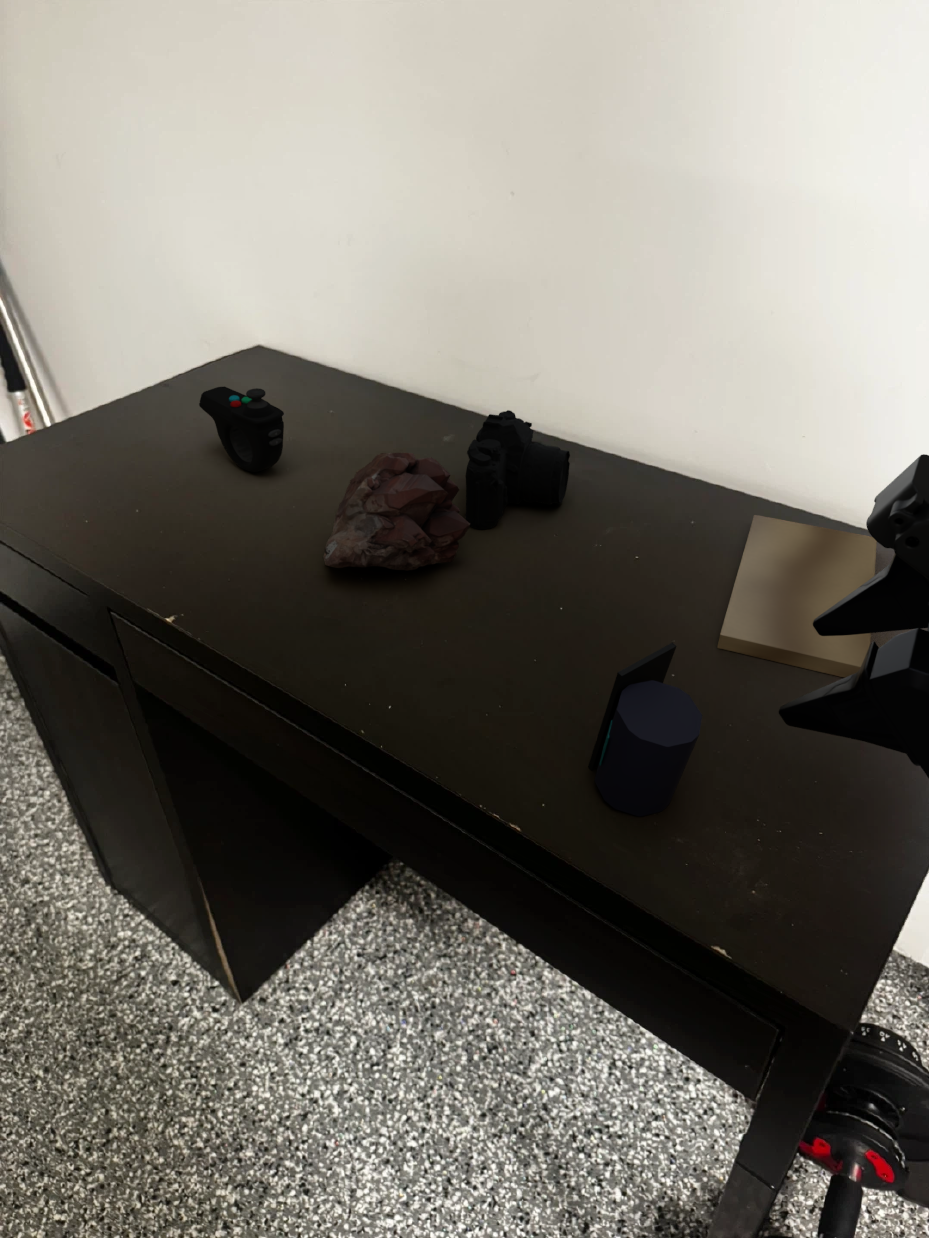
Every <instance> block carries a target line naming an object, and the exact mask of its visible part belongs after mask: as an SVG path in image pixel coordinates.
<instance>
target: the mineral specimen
mask: <svg viewBox="0 0 929 1238" xmlns="http://www.w3.org/2000/svg"><path fill="white" fill-rule="evenodd" d="M450 477H451V473H450V472H449V471H448V470H447V469H446V468H445V467H444V466H443V465H441V463H440V462H439V461H438V460H437V459H435V458H434V457H432V456H431V457H430V456H429V457H422V458H416V455H415V453H414V452H381V453H379V454H376V455H375V456H374V458H372V460H371V461H370V462H368V464H366V465H364V466H363V467H361V468H360V469H357V470H356V471H355V474H354V476H353V478H350V480H349V483H348V485H347V488H346V490H345V493H344V496H343V498H342V500H341V501H340V502H339V505H338V508H337V510H336V513H335V516H334V521H333V526H332V532H331V535H330V536H329V538H328V540H327V541H326V544H325V547H324V553H323V557H322V559H323V560H324V566H327V567H331V568H336V569H342V568H347V567H351V568H369V567H379V568H386V569H389V570H395V571H406V572H408V571H414V570H417V569H418V568H419V567H426V566H428V565H435V564H442V563H443V564H444V563H452V562H453V561H454V559H455V558H456V556H457V552H458V550H459V546H460V543H459V540H461V539H462V538H463V537H465V535H466V533H467V531H468V530H469V528H470V527H471V526H470V523H469V522H468V521H466V518H465V517H463V516H462V515H461V514H460V512H461V509H460V508H459V507H458V506H457V505H456V504H454V503H453V500H454V499H455V498H456V496H457V494H458V493H459V492H460V488H459V486H458V485H457V484H456V483H455V482H454V481H453V480H452V479H451V478H450Z"/></svg>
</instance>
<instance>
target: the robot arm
mask: <svg viewBox="0 0 929 1238" xmlns="http://www.w3.org/2000/svg"><path fill="white" fill-rule="evenodd" d="M873 502H874V505H873V508H872V510H871V513H870V514H869V516H868V517H867V519H866V524H865V525H866V529H867V531H868V533H869V535H870V536H871V537H873V538H874V539H875V540H876V541H877V544H879V545H880V546H882V547H883V548H884V549H892V550H893V552H894V554H893V555H892V559H891V561H890V562H889V563H888V565H887V566H885V567H884V568H883V569H881V570H880V571H879V572H878V573H875V576H874V577H872V578H871V579H870V580H868V581H867V582H866V583H864V584H863V585H861V586H860V587H859V588H857V589H856V590H855V591H853V592H852V593H850V594H849V595H848V596H846V597H845V598H843V599H842V600H841V601H839V602H838V603H836V604H835V605H834V606H832V607H831V608H829V609H828V610H827V611H825V612H824V613H822V614H821V615H820V616H818V617H817V618H815V619H814V621H813V627H814V628H815V630H816V631H817V633H818V634H819V635H821V636H843V635H856V634H867V633H871V634H876V633H877V634H878V633H889V632H898V631H905V632H901V633H899V634H895V635H894V636H893V637H892V638H890V639H889V640H888V641H886V642H885V643H884V644H883V645H881V646H880V647H879V646H878V644H877V642H876V641H875V640H874V641H872V642H870V646H869V649H868V651H867V653H866V656H865V658H864V661H863V663H862V665H861V668H860V670H859V671H858V672H857V673H855V674H852V675H850V676H848V677H845V678H844V677H842V678H841V679H838V680H835V681H834V682H832V683H829V684H827V685H824V686H822V687H819V688H817V689H814V690H811V691H810V692H808V693H805V694H804V695H801V696H799V697H797V698H795V699H793V700H790V701H789V702H786V703H785V704H784V705H781V706H780V707H779V709H778V715H779V716H780V718H781V720H783V722H784V723H785V724H786V725H787V726H789V727H793V728H798V729H802V730H807V731H812V732H817V733H822V734H827V735H830V736H831V735H832V736H835V737H836V736H837V737H842V738H847V739H851V740H855V741H860V742H864V743H867V744H871V745H875V746H879V747H882V748H884V749H888V750H892V751H896V752H899V753H902V754H905V755H906V756H907V757H908V760H909V761H910V762H911V764H913V765H914V766H915V767H920V768H921V769H922V771H923V772H924V774H925V775H926V777H927V778H928V779H929V454H920V455H919V456H918V457H917V458H916V459H915V460H914V461H912V462H911V463H910V464H909V466H907V467H906V468H905V469H904V470H903V471H901V473H899V474H898V476H896V477H895V478H894V479H893V480H892V481H891V482H890V483H889V484H888V485H886V487H884V489H882V490H881V491H880V492H879V493H878V494H877V495H876V496H875V497H874V500H873ZM926 629H927V630H926Z"/></svg>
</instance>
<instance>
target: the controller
mask: <svg viewBox="0 0 929 1238" xmlns="http://www.w3.org/2000/svg"><path fill="white" fill-rule="evenodd" d="M265 396H266V391H265V389H262V388H257V387H256V388H250V389H248V390H247V391H246V393H245V394H244V393H241V392H238V391H237V390H234V389H231V388H229V387H227V386H217V387H214V388H210V389H207V390H204V391H203V392H202V393H201V395H200V399H199V403H198V406H199V408H201V409H202V411H204V412H205V413H206V414H207V415H208V416H209V417H211V419H212V420H213V421H214V424H215V428H216V432H217V436H218V439H219V440H220V443H221V444H222V447H223V449H224V450H225V452H226V453H227V455H228V456H229V457H230V459H231V460H232V461H233V462H234V463H235V464H236V465H237V466H238V467H240V468H241V469H243V470H244V471H248V472H253V473H258V472H262V471H264V470H267V469H269V468H271V467H273V466H274V465H275V464H277V463H278V461H279V460H280V459H281V456H282V454H283V449H284V448H283V447H284V429H285V424H284V421H283V420H284V419H283V416H284V415H285V412H284V410H282V409H280V408H279V407H277V406H275V405H273V404H271V403H270V402H268V401H267V400H265V399H263V398H264V397H265Z"/></svg>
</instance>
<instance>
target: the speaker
mask: <svg viewBox="0 0 929 1238" xmlns="http://www.w3.org/2000/svg"><path fill="white" fill-rule="evenodd" d="M676 649H677V645H676V644H675V643H674V642H670V643H669V644H666V645H665V646H663V647H661V648H660V649H657V650H656V651H653V652H652V653H650V654H649V655H647V656H645V657H643V658H642V659H639V660H638V661H636V662H634V663H632V664H630V665H628V666H627V667H625V668H623V669H620V670H619V671H618V672H617V673H616V675H615V679H614V683H613V685H612V689H611V693H610V695H609V699H608V702H607V705H606V708H605V711H604V714H603V717H602V721H601V724H600V727H599V731H598V734H597V737H596V739H595V744H594V746H593V750H592V753H591V756H590V759H589V762H588V766H587V767H588V768H589V770H591V771H594V770H595V769H596V773H595V776H594V783H595V785H596V787H597V789H598V790H599V792H600V794H601V796H602V798H603V801H604V802H606V803H607V805H609V806H610V807H612V808H613V809H614V810H617V811H620V812H624V813H626V814H629V815H632V816H636V817H639V818H640V817H644V816H649V815H653V814H657V813H661V812H663V811H664V810H665V809H666V808H667V807H668V806H670V804H671V801H672V799H673V797H674V794H675V792H676V790H677V787H678V785H679V782H680V780H681V778H682V776H683V773H684V771H685V768H686V766H687V764H688V762H689V759H690V757H691V754H692V753H693V751H694V749H695V746H696V743H697V741H698V739H699V736H700V731H701V726H702V719H703V714H702V712H701V711H700V710H699V708H698V706H697V705H696V703H695V702H694V699H692V697H691V696H690V695H689V693H687V692H685V691H684V690H683V689H681V688H679V687H677V686H674V685H670V684H667V683H664V682H665V679H666V676H667V673H668V670H669V668H670V665H671V663H672V659H673V656H674V655H675V652H676Z"/></svg>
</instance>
